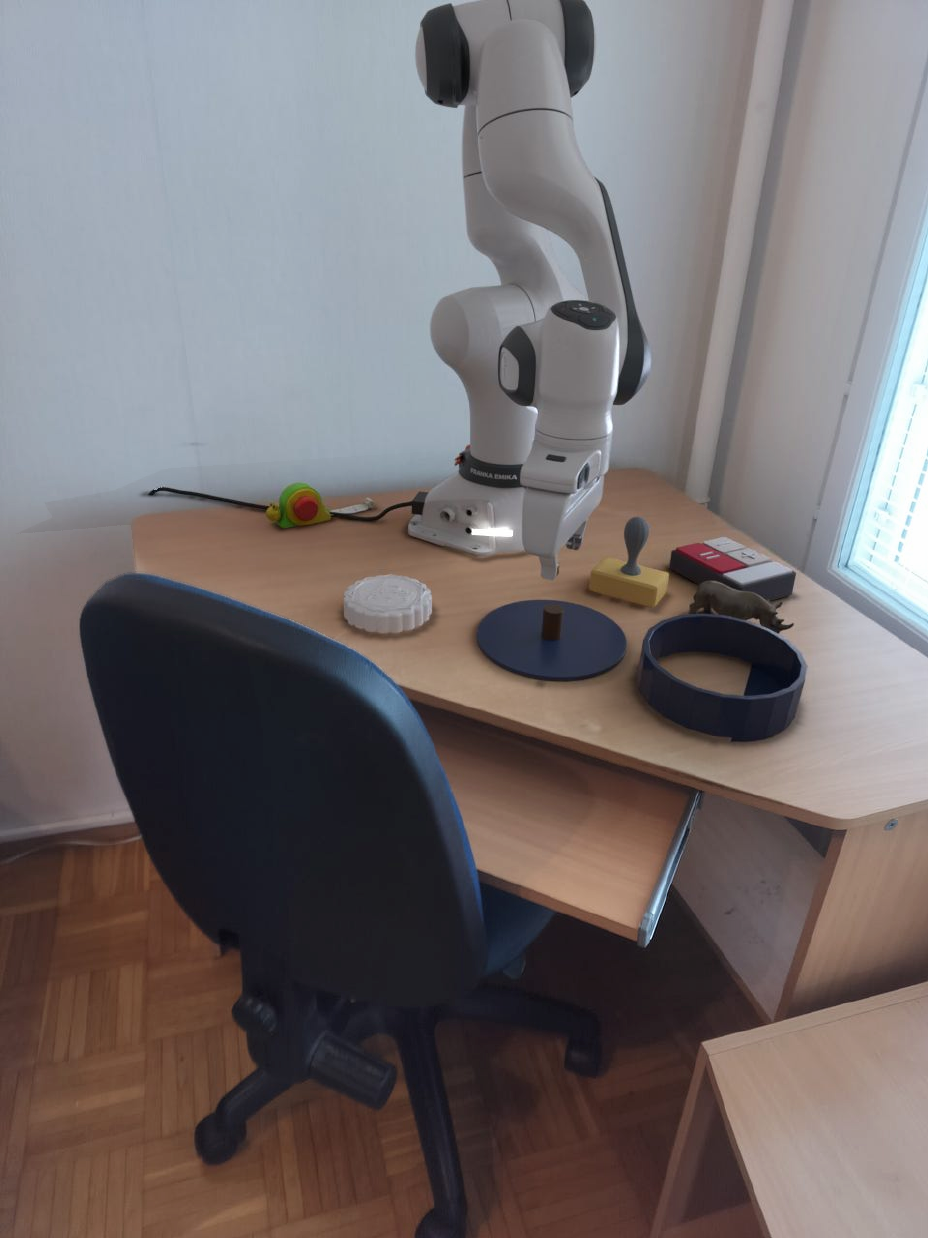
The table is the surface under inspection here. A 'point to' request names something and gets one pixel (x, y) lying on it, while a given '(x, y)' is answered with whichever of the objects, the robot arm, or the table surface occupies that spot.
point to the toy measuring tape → (306, 507)
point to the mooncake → (387, 604)
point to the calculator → (733, 568)
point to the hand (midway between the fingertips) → (562, 561)
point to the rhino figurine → (737, 605)
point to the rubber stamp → (630, 571)
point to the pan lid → (551, 640)
